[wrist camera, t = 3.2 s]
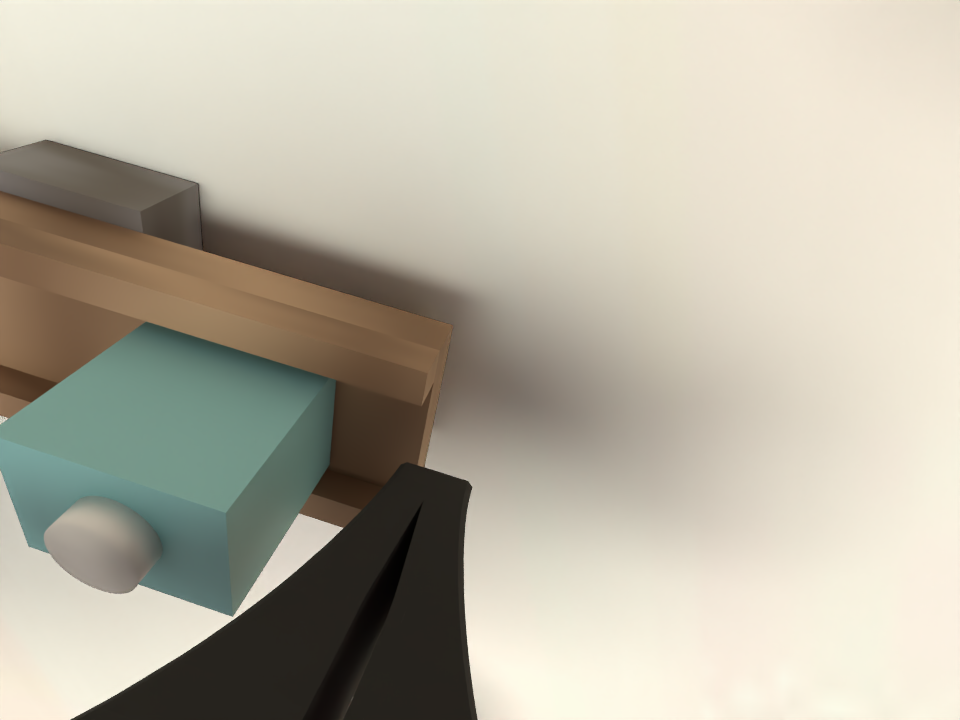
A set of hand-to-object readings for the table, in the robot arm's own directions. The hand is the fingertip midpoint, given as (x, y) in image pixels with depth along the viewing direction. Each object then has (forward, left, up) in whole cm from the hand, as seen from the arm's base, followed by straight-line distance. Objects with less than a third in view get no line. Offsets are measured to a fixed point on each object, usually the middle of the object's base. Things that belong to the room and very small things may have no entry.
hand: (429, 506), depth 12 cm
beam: (-10, 0, -5) cm, 11 cm away
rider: (-5, 0, -2) cm, 5 cm away
